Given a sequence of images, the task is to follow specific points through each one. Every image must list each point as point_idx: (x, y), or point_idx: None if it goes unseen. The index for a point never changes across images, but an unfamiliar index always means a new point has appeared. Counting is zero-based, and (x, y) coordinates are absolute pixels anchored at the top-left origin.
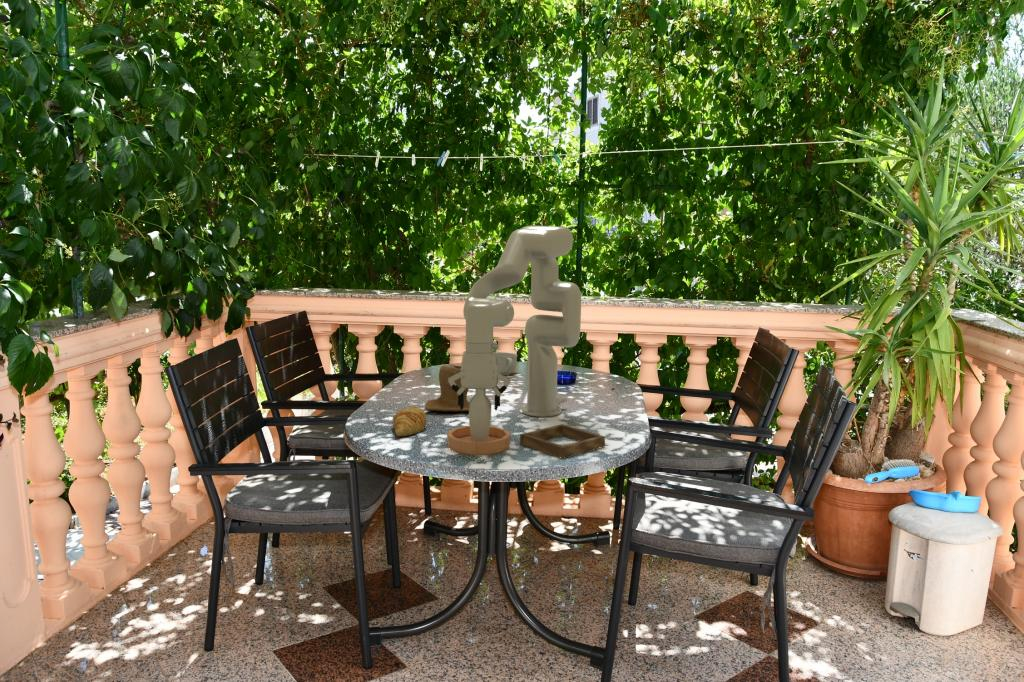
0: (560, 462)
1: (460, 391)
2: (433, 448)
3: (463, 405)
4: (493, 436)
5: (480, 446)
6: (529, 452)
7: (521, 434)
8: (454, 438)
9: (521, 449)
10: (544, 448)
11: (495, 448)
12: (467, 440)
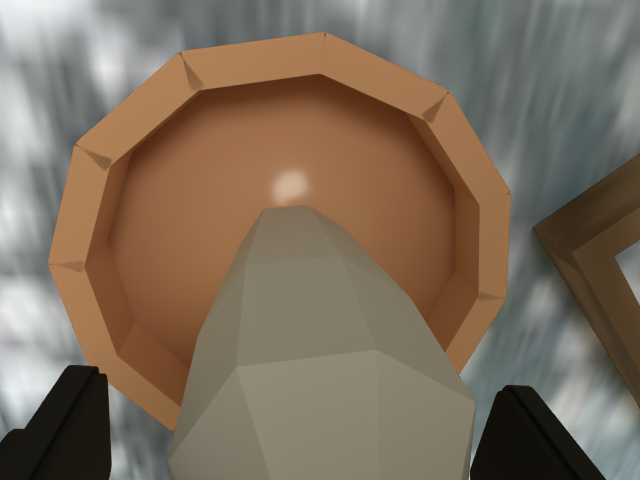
0: (622, 462)
1: None
2: (11, 294)
3: (99, 425)
4: (398, 126)
5: None
6: (541, 350)
7: (578, 257)
8: (128, 384)
9: (516, 307)
10: (624, 369)
11: None
12: (215, 217)
